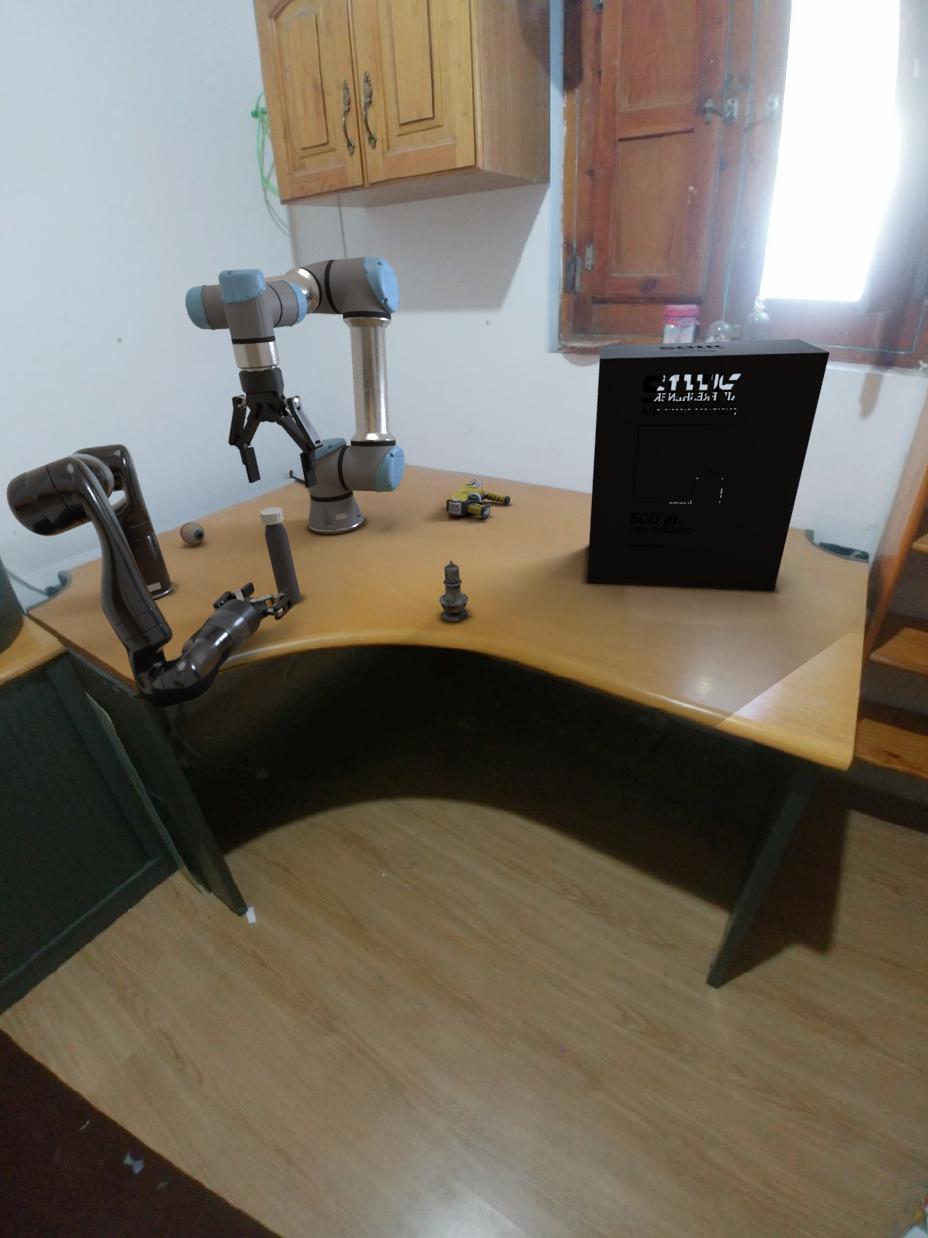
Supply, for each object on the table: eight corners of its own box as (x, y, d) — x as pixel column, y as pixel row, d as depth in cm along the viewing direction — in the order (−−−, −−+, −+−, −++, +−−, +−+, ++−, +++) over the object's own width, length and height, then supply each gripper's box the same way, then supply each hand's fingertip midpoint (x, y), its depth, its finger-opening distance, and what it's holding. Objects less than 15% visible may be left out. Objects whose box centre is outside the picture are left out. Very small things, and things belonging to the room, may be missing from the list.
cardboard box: (754, 550, 140) (797, 339, 118) (774, 590, 123) (829, 352, 101) (589, 545, 148) (601, 345, 125) (586, 582, 131) (599, 358, 108)
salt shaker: (466, 622, 119) (462, 567, 113) (437, 621, 120) (432, 566, 114) (471, 608, 123) (469, 554, 117) (443, 606, 125) (439, 553, 119)
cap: (275, 525, 120) (273, 515, 119) (257, 523, 121) (255, 513, 120) (288, 518, 123) (286, 508, 122) (270, 516, 125) (268, 506, 124)
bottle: (293, 606, 129) (273, 517, 119) (275, 603, 130) (255, 515, 120) (305, 596, 132) (287, 509, 122) (288, 594, 134) (269, 508, 124)
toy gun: (518, 484, 183) (472, 477, 187) (496, 507, 163) (444, 499, 167) (517, 499, 185) (471, 492, 189) (494, 524, 165) (443, 515, 169)
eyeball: (193, 549, 159) (187, 528, 156) (179, 545, 162) (172, 524, 159) (212, 541, 163) (206, 520, 160) (198, 538, 166) (191, 517, 163)
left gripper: (260, 612, 106) (299, 572, 120) (188, 608, 109) (235, 569, 123) (269, 648, 110) (306, 605, 124) (200, 643, 113) (243, 601, 126)
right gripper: (329, 365, 107) (346, 481, 118) (219, 365, 116) (244, 474, 126) (304, 371, 101) (325, 493, 112) (190, 370, 110) (219, 484, 120)
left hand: (271, 587), depth 123 cm, fingers open, 8 cm apart
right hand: (282, 483), depth 119 cm, fingers open, 13 cm apart
